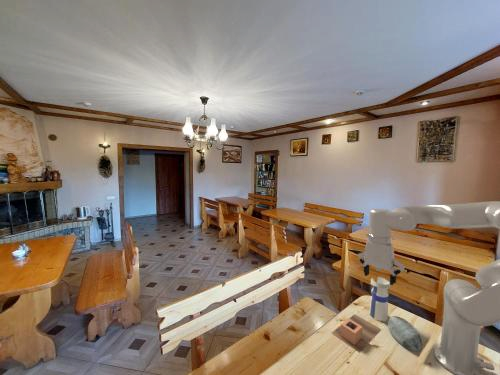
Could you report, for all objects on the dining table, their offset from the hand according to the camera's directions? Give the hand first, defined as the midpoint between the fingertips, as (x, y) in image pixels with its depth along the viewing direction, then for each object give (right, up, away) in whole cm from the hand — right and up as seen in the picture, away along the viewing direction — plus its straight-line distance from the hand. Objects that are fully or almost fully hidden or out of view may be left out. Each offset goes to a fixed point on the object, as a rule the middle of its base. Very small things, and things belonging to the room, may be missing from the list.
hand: (379, 279), depth 88 cm
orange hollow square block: (-11, -25, +1) cm, 27 cm away
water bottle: (+8, -25, +14) cm, 30 cm away
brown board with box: (-7, -26, +4) cm, 27 cm away
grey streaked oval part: (+10, -27, +1) cm, 29 cm away
